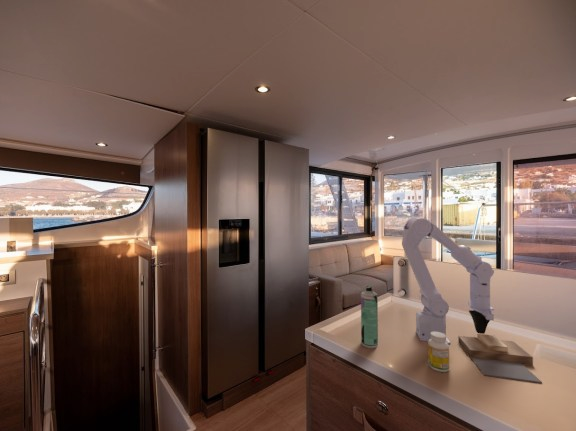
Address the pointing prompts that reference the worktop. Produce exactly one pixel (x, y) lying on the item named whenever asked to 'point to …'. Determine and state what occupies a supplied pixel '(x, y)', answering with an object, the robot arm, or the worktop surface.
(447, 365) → the supplement bottle
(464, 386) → the worktop surface
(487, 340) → the birch tile
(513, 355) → the walnut deck
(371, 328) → the spray can
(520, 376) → the rubber mat
